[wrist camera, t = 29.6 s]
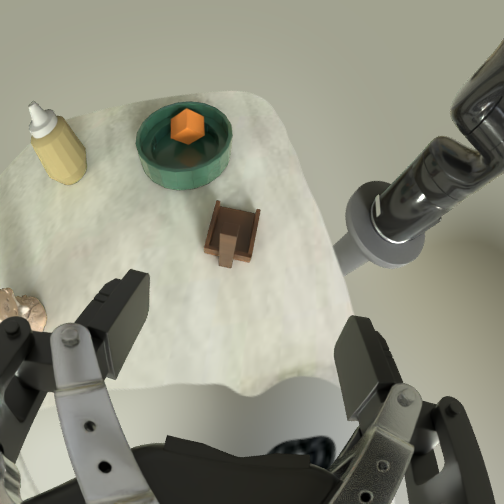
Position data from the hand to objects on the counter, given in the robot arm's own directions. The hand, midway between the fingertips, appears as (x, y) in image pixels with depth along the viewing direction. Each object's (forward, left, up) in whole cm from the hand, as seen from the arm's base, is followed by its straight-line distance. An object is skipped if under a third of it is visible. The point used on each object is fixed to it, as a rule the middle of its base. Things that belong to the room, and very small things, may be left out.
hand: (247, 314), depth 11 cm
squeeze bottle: (+33, -21, -29) cm, 48 cm away
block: (+13, -29, -25) cm, 40 cm away
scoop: (+2, -15, -29) cm, 32 cm away
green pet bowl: (+13, -28, -29) cm, 42 cm away
